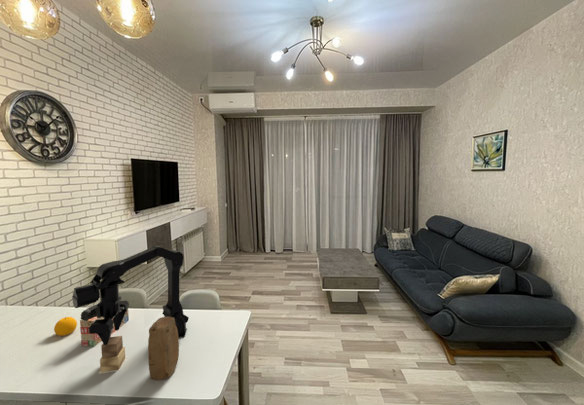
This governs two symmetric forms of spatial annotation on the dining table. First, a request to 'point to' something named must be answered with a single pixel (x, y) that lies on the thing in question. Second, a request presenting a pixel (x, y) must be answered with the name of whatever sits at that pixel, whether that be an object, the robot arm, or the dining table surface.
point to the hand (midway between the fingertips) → (111, 337)
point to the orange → (65, 326)
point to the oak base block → (112, 362)
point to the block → (163, 348)
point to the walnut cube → (112, 347)
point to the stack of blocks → (94, 338)
